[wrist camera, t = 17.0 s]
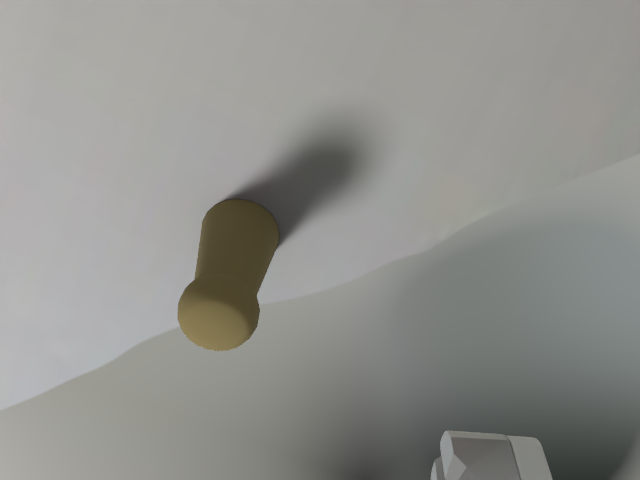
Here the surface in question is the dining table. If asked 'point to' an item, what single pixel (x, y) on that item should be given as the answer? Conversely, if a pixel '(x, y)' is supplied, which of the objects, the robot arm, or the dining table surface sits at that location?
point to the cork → (228, 275)
